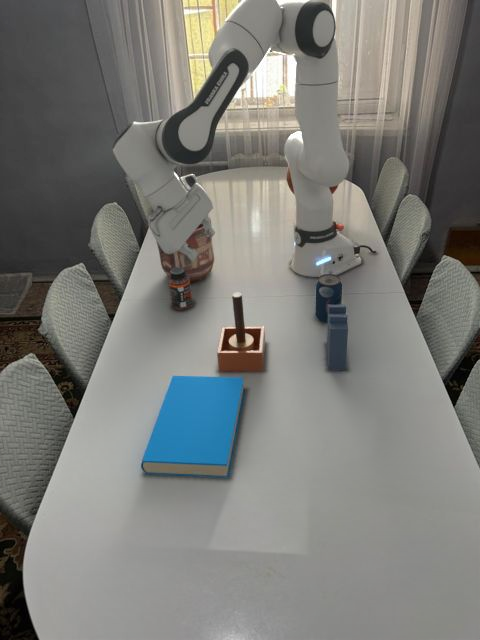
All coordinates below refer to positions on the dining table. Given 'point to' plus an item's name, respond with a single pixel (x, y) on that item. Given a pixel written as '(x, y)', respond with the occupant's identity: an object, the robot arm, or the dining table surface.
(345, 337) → the stand
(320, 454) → the dining table surface
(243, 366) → the caddy
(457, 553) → the dining table surface
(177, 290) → the supplement bottle
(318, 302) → the soda can
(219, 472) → the book
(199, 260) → the pottery
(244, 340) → the brush
